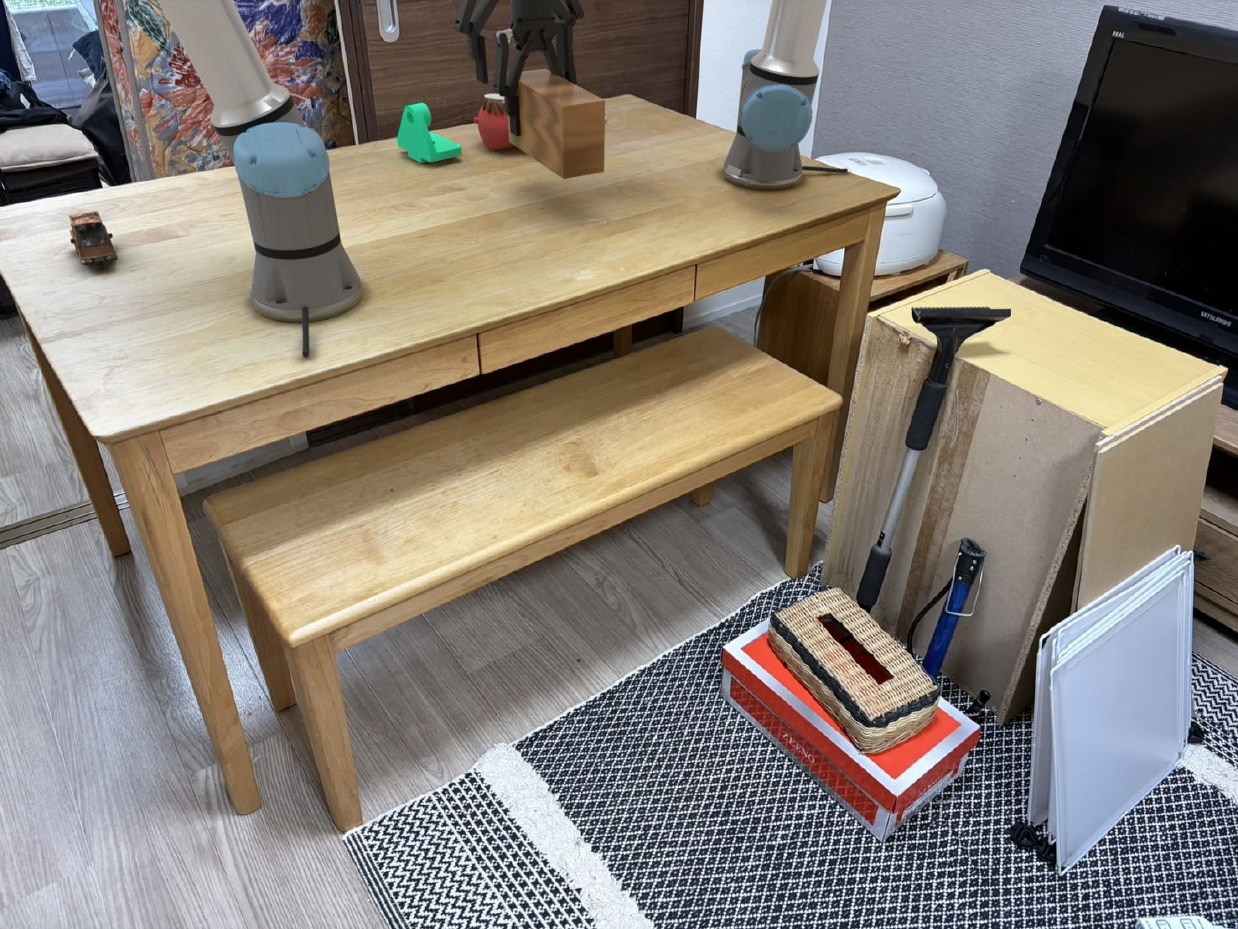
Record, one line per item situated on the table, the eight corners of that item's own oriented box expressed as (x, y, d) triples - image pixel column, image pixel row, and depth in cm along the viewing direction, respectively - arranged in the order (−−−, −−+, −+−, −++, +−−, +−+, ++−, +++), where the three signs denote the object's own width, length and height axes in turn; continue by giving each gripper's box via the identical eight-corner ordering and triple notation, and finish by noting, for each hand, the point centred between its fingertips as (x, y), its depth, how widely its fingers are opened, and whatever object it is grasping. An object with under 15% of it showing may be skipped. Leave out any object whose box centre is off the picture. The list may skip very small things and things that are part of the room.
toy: (626, 100, 192) (495, 101, 177) (622, 150, 197) (495, 156, 182) (581, 87, 205) (455, 87, 190) (578, 134, 210) (456, 138, 195)
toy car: (108, 240, 149) (95, 198, 145) (131, 265, 142) (117, 222, 137) (65, 249, 146) (50, 207, 141) (86, 276, 138) (71, 232, 134)
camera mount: (464, 159, 183) (460, 106, 177) (431, 168, 179) (426, 113, 173) (430, 144, 190) (425, 92, 184) (398, 151, 186) (392, 98, 180)
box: (604, 172, 157) (605, 100, 150) (563, 179, 154) (562, 106, 147) (547, 135, 172) (545, 68, 165) (508, 141, 168) (505, 73, 161)
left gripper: (580, -93, 137) (583, 59, 150) (419, -82, 127) (438, 80, 140) (605, -87, 131) (606, 70, 144) (439, -75, 122) (456, 92, 135)
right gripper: (577, -19, 159) (577, 117, 173) (465, -10, 151) (475, 132, 164) (598, -11, 154) (597, 128, 168) (484, -1, 145) (492, 145, 159)
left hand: (523, 75), depth 142 cm, fingers open, 13 cm apart
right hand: (536, 130), depth 166 cm, fingers closed on box, 8 cm apart
